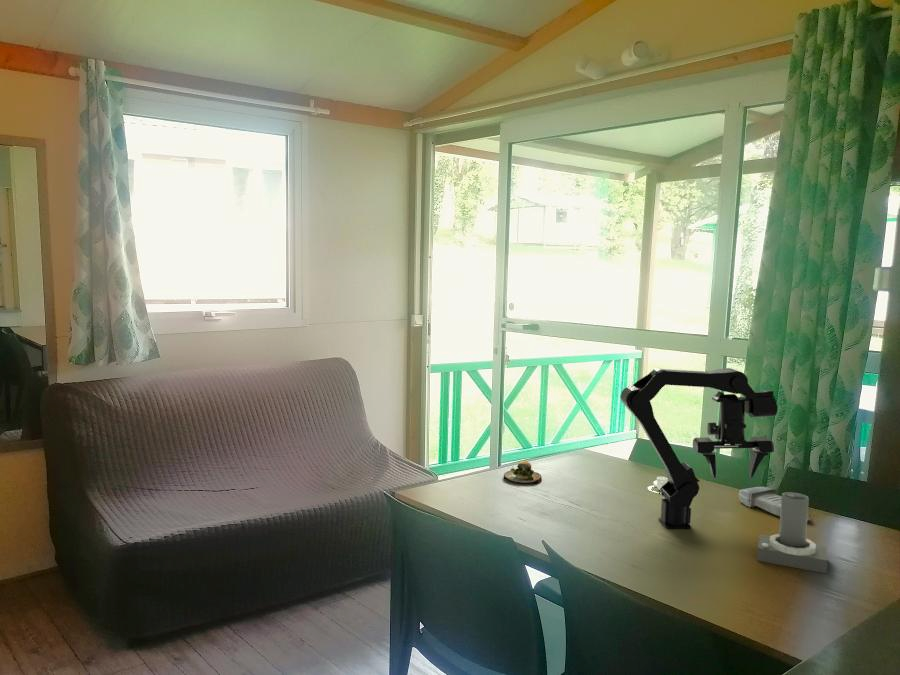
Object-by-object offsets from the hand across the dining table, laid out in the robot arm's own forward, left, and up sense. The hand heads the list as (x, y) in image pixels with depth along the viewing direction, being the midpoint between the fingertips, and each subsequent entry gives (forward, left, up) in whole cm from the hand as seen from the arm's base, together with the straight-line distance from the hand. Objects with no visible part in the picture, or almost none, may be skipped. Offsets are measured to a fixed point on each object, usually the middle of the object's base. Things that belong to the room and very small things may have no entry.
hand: (732, 477), depth 176 cm
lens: (+5, -21, -10) cm, 24 cm away
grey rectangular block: (+5, -21, -13) cm, 25 cm away
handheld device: (+18, +11, -13) cm, 25 cm away
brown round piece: (-48, +39, -13) cm, 63 cm away
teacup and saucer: (-5, +30, -14) cm, 33 cm away
